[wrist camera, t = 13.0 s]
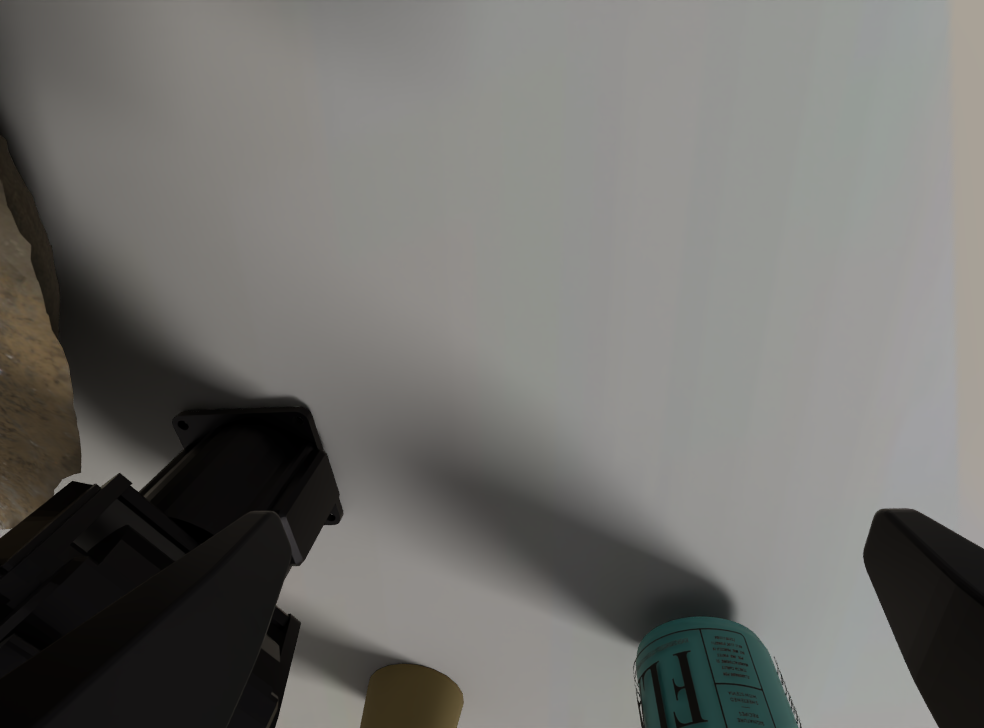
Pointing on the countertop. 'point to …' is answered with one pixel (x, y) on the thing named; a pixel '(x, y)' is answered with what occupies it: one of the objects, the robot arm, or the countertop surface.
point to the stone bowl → (30, 359)
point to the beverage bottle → (709, 678)
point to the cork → (411, 699)
